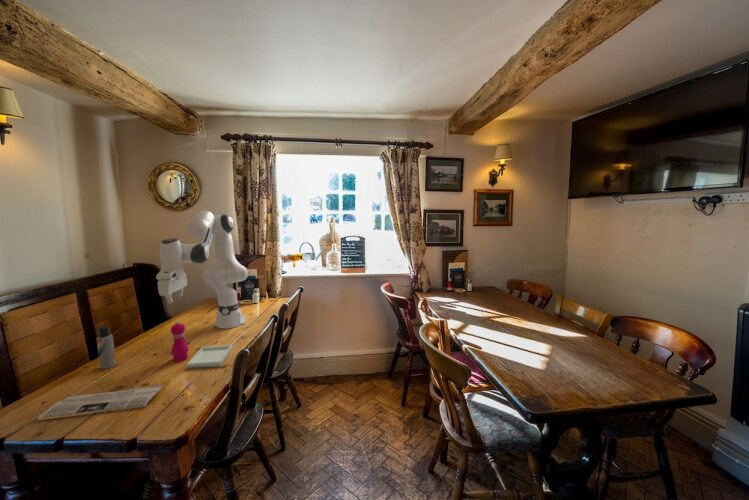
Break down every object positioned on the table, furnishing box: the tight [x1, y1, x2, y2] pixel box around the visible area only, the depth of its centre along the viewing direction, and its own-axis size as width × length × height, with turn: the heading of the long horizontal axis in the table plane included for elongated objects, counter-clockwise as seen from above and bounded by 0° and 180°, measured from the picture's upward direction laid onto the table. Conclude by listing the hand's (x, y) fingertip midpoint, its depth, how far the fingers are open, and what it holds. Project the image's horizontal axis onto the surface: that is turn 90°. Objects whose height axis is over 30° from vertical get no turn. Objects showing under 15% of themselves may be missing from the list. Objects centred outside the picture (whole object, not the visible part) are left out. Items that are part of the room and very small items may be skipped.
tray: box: [186, 344, 233, 370], centre depth 148 cm, size 18×15×2 cm
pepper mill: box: [170, 320, 189, 363], centre depth 147 cm, size 7×7×20 cm
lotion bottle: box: [96, 325, 117, 370], centre depth 139 cm, size 6×6×20 cm
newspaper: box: [37, 382, 164, 419], centre depth 114 cm, size 35×12×4 cm, turn 103°
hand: (175, 299), depth 144 cm, fingers open, 8 cm apart
